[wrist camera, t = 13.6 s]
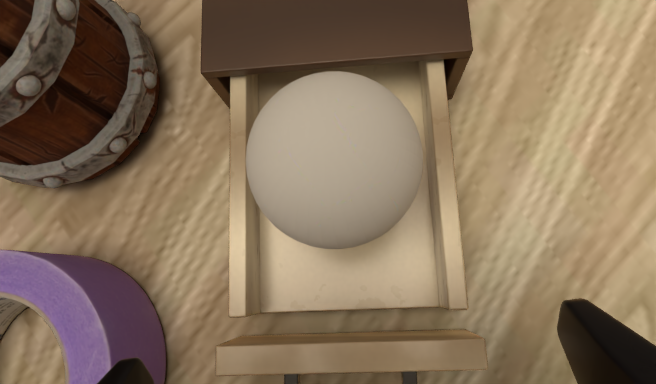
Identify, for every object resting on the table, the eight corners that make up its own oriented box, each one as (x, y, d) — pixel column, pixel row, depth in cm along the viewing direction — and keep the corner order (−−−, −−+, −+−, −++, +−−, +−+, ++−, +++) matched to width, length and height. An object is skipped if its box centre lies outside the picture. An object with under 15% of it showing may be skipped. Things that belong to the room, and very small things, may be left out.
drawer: (478, 453, 20) (501, 490, 16) (239, 455, 21) (213, 490, 17) (437, 40, 24) (449, -1, 21) (240, 57, 25) (219, 20, 22)
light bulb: (340, 119, 23) (318, -4, 13) (430, 193, 21) (481, 120, 12) (262, 204, 22) (177, 143, 12) (350, 285, 21) (333, 288, 11)
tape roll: (-62, 488, 23) (-182, 546, 18) (-28, 257, 25) (-125, 251, 20) (160, 495, 22) (99, 558, 17) (174, 253, 24) (124, 246, 19)
